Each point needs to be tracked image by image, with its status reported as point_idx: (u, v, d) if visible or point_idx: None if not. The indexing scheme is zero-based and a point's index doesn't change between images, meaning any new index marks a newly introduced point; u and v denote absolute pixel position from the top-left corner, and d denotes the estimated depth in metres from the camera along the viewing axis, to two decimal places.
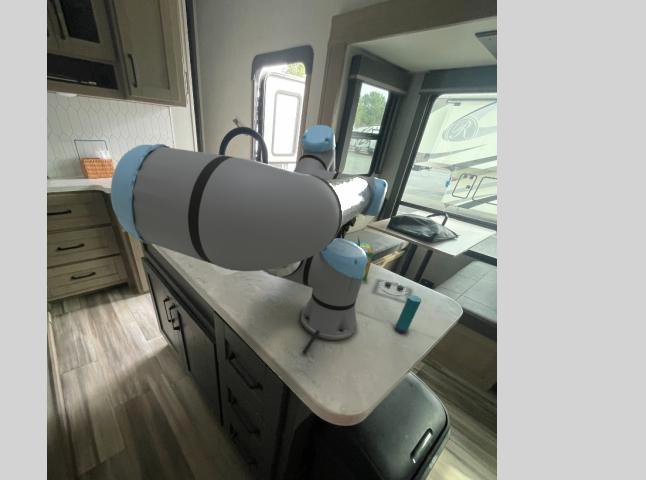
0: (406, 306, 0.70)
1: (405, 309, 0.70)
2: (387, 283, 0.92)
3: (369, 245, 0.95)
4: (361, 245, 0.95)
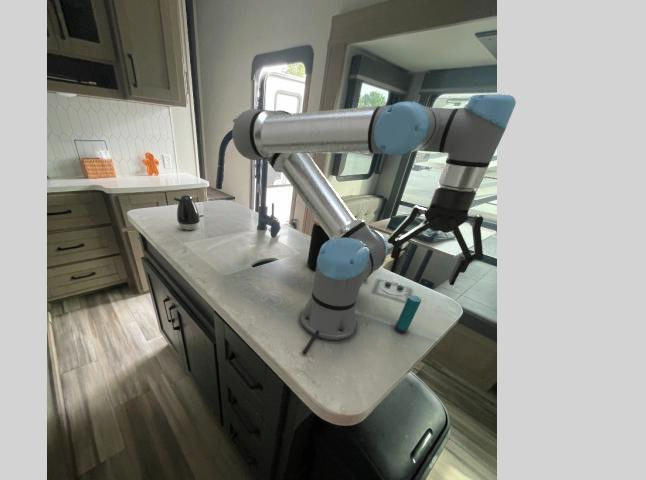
0: (406, 306, 0.70)
1: (405, 309, 0.70)
2: (387, 283, 0.92)
3: None
4: None
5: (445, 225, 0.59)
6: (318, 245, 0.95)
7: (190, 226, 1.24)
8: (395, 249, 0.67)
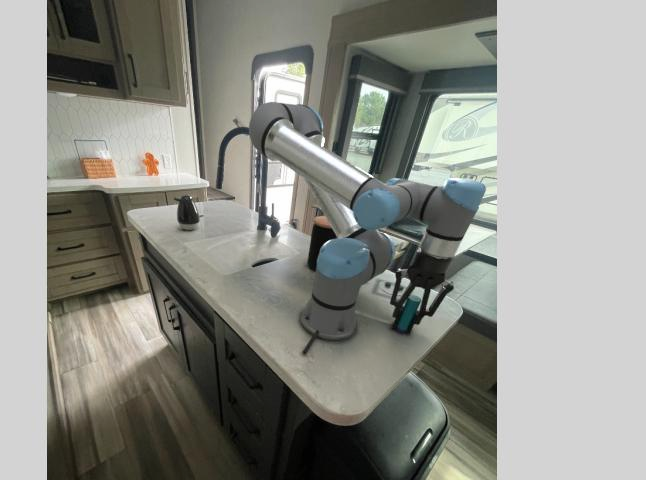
0: (406, 306, 0.70)
1: (405, 309, 0.71)
2: (387, 283, 0.92)
3: None
4: None
5: (425, 283, 0.65)
6: (318, 245, 0.95)
7: (190, 226, 1.24)
8: (396, 310, 0.72)
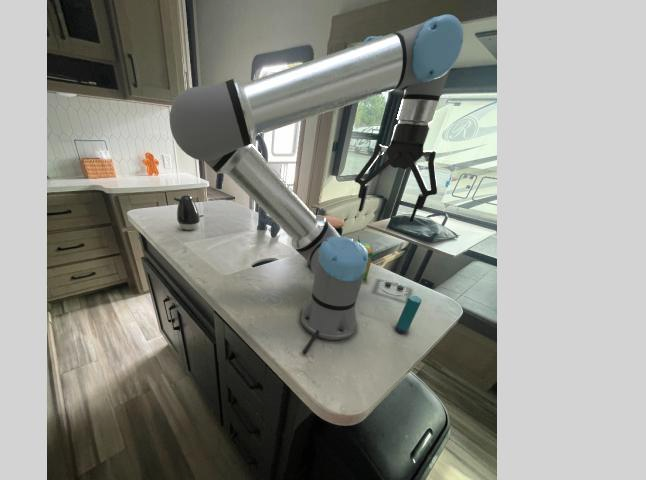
0: (406, 306, 0.70)
1: (406, 309, 0.70)
2: (387, 283, 0.92)
3: (369, 245, 0.95)
4: None
5: (403, 161, 0.65)
6: None
7: (190, 226, 1.24)
8: (362, 188, 0.73)
